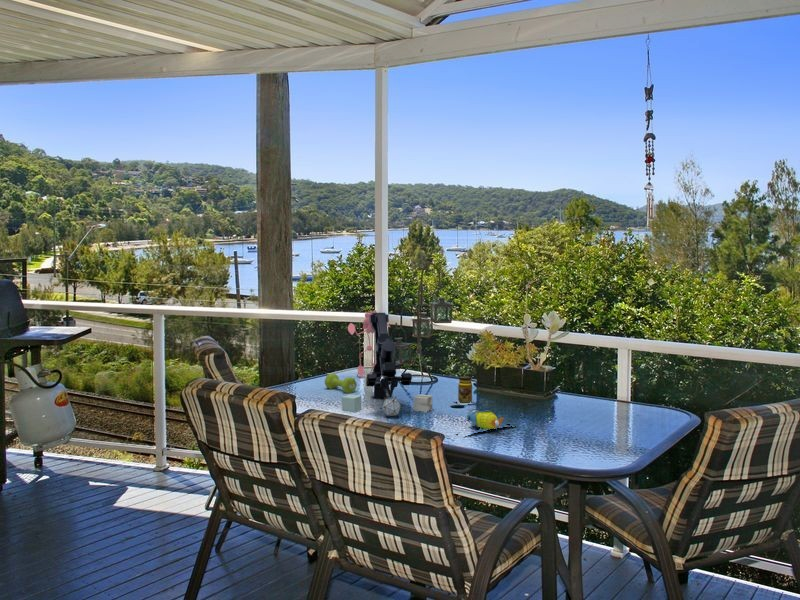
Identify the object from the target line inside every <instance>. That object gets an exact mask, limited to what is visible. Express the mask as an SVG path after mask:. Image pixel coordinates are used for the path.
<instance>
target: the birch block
mask: <svg viewBox="0 0 800 600" xmlns="http://www.w3.org/2000/svg"><path fill="white" fill-rule="evenodd" d="M431 409H432V410H433V395H428V394H417V395H415V396H413V411H414V410H415V411H414V412H419V411H424V412H423V413H428V412H430V411H432V410H431ZM429 410H430V411H429ZM427 411H428V412H427Z"/></svg>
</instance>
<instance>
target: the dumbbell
mask: <svg viewBox="0 0 800 600" xmlns="http://www.w3.org/2000/svg"><path fill="white" fill-rule="evenodd" d="M324 385H325V387H326V388H327V389H328V388H329V390H334V389H333V388H335V389H337V388H338V387H341V389H342V390H343V392H344V393H345V394H352V393H354V392H355V391H356V388H357V385H358V384H357V381H356V379H355V378H354V377H352V376H351V377H350V376H347V377H345V378H344V379H343V380H341V379H340V378H339V376H338V375H337V373H328V374H327V375H326V376H325V379H324Z"/></svg>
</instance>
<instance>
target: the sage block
mask: <svg viewBox="0 0 800 600" xmlns="http://www.w3.org/2000/svg"><path fill="white" fill-rule="evenodd" d="M342 410H343V411H342ZM361 410H362V395H358V394H352V393H348V394H346V395H344V396H341V411H342V412H348V413H356V412H358V411H361Z"/></svg>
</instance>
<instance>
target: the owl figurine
mask: <svg viewBox="0 0 800 600" xmlns="http://www.w3.org/2000/svg"><path fill="white" fill-rule="evenodd" d="M504 419H505V417H500V418H499V419H498V416H497V415H496V414H495V413H494V412H492V411H491V410H490V409H475V410H472V411H471V412H470V413H469V414H467V416H466V422H471V423H473V425H475V426H476V427H477V428H479V427H480V428H481V429H488V430H489V429H494V428H495V429H496V426H499V428H500V425H502V422H503V420H504ZM496 430H497V429H496Z"/></svg>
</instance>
